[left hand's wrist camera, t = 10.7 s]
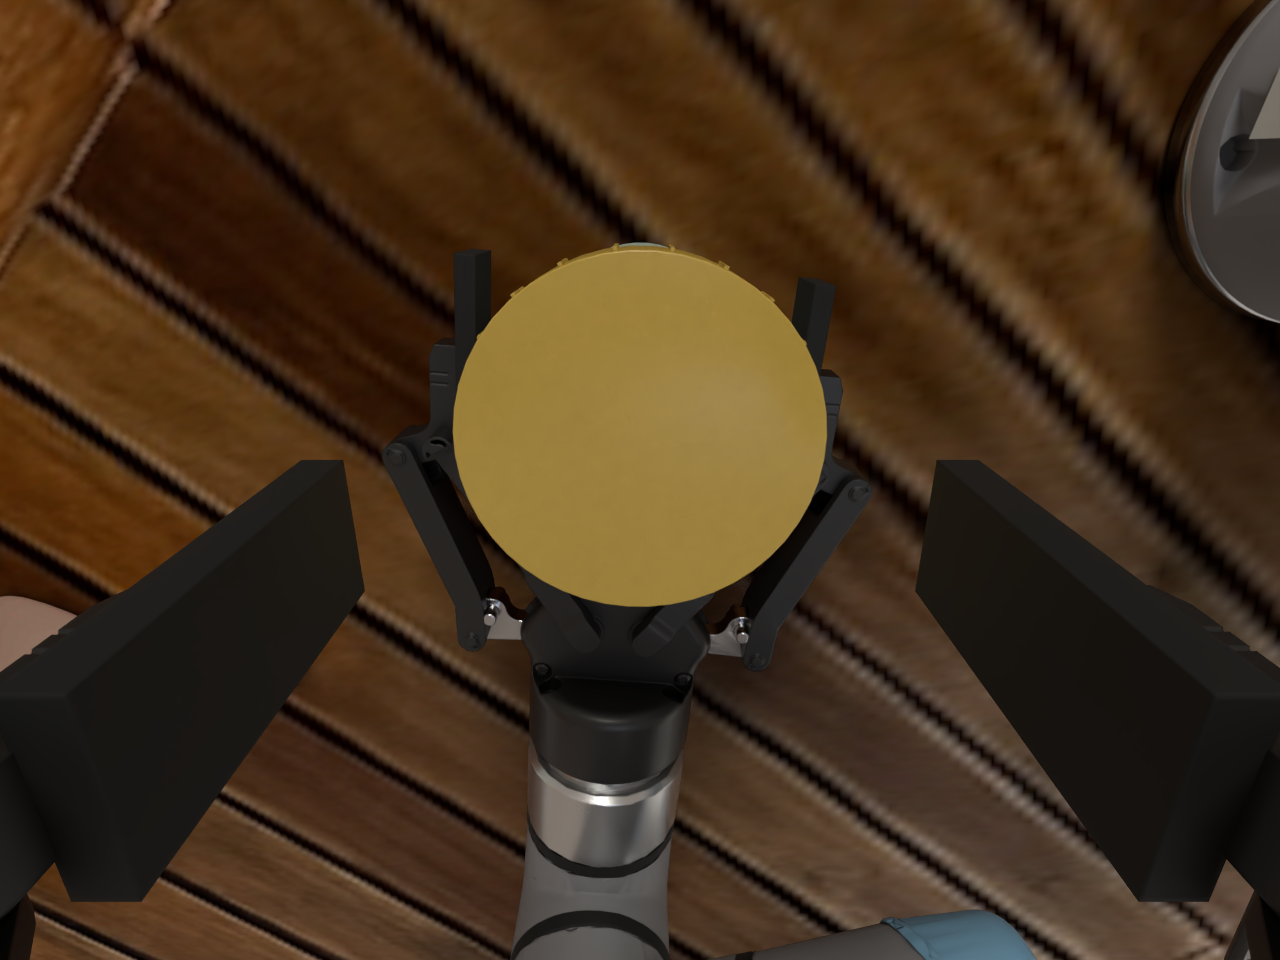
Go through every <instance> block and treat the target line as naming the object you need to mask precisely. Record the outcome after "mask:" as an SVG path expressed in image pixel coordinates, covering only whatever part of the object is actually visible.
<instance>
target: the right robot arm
mask: <svg viewBox="0 0 1280 960" xmlns="http://www.w3.org/2000/svg"><path fill="white" fill-rule="evenodd" d="M835 290H836V286H835V285H832V284H830V283H827V282H825V281H822V280H820V279H814V278H802V277H799V280H798V286H797V292H796V298H795V305H794V311H793V317H792V325H793V326H794V328H795V329H796V331H797V332H798V334H799V335H800V337H801V338H802V339H803V340H805V341H806V343H807V345H806V347H807V349H808V351H809V353H810V355H811V357H812V359H813V362H814V364H815V366H816V369H817V372H818V375H819V379H820V382H821V385H822V388H823V393H824V400H825V406H826V412H827V441H826V450H825V458H824V463H823V467H822V471H821V474H820V478H819V482H818V484H817V487H816V489H815V492H814V494H813V497H812V499H811V502H810V504H809V506H808V507H807V509H806V511H805V513H804V514H803V516H802V518H801V520H800V522H799V523H798V525H797V526H796V527H795V529H794V530H793V531H792V533H791V534H790V535H789V537H788V538H787V539H786V541H785V542H784V543H783V544H782V545H781V546H780V547H779V548H778V549H777V550H776V551H775V552H774V553H773V554H772V555H771V556H770V557H769V558H768V559H767V560H766V561H765V563H764V564H763V566H762V567H761V569H760V570H759V572H758V573H757V575H756V576H755V578H754V579H753V581H752V582H751V584H750V585H749V587H748V589H747V591H746V593H745V596H744V598H743V601H742V605H739V604H734V605H732V606H731V607H730V610H729V611H728V612H727V613H726V615H725V617H724V618H723V619H722V620H721V621H720V622H718V623H714V624H709V623H708V621H707V619H706V617H705V616H704V614H703V613H702V611H701V610H700V609H701V608H702V607H703V606H704V605H706V604H707V603H708V602H709V601H710V600H711V599H712V597H713V596H714V594H715V592H714V593H711V594H708V595H705V596H702V597H699V598H696V599H693V600H689V601H685V602H680V603H675V604H671V605H661V606H651V607H628V606H619V605H611V604H604V603H600V602H596V601H591V600H587V599H583V598H580V597H578V596H575V595H572V594H570V593H567V592H564V591H562V590H560V589H558V588H556V587H554V586H552V585H550V584H548V583H546V582H544V581H542V580H541V579H539V578H538V577H536V576H535V575H533V574H532V573H530V572H529V571H527V570H526V569H524V568H523V567H522V566H520V565H519V564H518V563H517V562H516V563H517V564H518V565H519V567H520V568H521V569H522V571H523V573H524V576H525V580H526V582H527V585H528V586H529V588H530V589H531V590H532V591H533V593H534V594H535V595H536V598H535V599H534V600H533V601H532V602H531V603H530V604H529V605H528V607H527V608H526V610H521V609H518V608H516V607H515V606H513V605H512V603H511V602H510V599H509V596H508V595H507V593H506V591H505V589H504V588H502V587H495V584H494V578H493V574H492V570H491V568H490V565H489V563H488V560H487V558H486V556H485V554H484V552H483V550H482V547H481V545H480V543H479V541H478V539H477V537H476V534H475V532H474V530H473V528H472V526H471V524H470V522H469V519H468V517H467V515H466V513H465V511H464V509H463V507H462V504H461V502H460V500H459V498H458V496H457V494H456V492H455V489H454V487H453V485H452V483H451V481H450V479H449V477H450V478H451V480H452V481H453V482H454V484H455V485H456V486H457V487H458V489H459V490H460V491H461V493H462V494H463V495H464V496H465V498H466V499H467V500H468V497H467V495H466V492H465V489H464V487H463V484H462V481H461V479H460V475H459V471H458V467H457V462H456V458H455V451H454V440H453V416H454V405H455V400H456V394H457V389H458V384H459V381H460V378H461V375H462V372H463V369H464V367H465V364H466V361H467V359H468V357H469V355H470V353H471V351H472V349H473V347H474V345H475V343H476V341H477V336H478V335H479V334H480V333H481V332H482V331H484V329H485V328H486V326H487V325H488V324H489V322H490V321H491V251H490V250H479V249H469V250H465V251H461V252H457V253H454V298H455V339H453V338H443V339H441V340H440V341H438V342H437V343H435V344H434V345H433V348H432V351H431V353H430V356H429V371H430V373H429V377H430V413H431V417H430V423H427V424H424V425H420V426H417V425H412V426H409V427H407V428H405V429H404V430H403V431H402V432H401V433H400V434H399V435H398V436H397V437H396V438H395V439H393V440H392V441H391V442H390V443H389V444H388V445H387V446H386V447H385V449H384V450H383V453H382V459H383V462H384V464H385V466H386V468H387V470H388V472H389V474H390V476H391V478H392V480H393V482H394V484H395V486H396V488H397V490H398V492H399V494H400V496H401V498H402V501H403V503H404V505H405V507H406V509H407V511H408V513H409V515H410V517H411V519H412V521H413V523H414V525H415V527H416V529H417V531H418V533H419V535H420V537H421V539H422V541H423V543H424V545H425V547H426V549H427V551H428V553H429V555H430V557H431V559H432V561H433V563H434V565H435V567H436V569H437V571H438V573H439V575H440V577H441V579H442V581H443V583H444V585H445V587H446V589H447V591H448V593H449V595H450V597H451V599H452V601H453V603H454V605H455V610H456V622H457V635H458V641H459V644H460V645H461V647H462V648H464V649H466V650H468V651H478V650H480V649H482V648H483V646H484V645H485V643H486V640H487V639H515V640H522V642H523V644H524V645H525V647H526V648H527V650H528V652H529V655H530V658H531V685H530V717H529V729H530V735H531V736H530V740H529V745H528V804H527V820H528V825H527V840H526V854H525V869H524V879H523V887H522V894H521V900H520V906H519V911H518V917H517V923H516V929H515V934H514V940H513V946H512V953H511V960H671V959H670V956H669V936H668V910H667V883H668V870H669V859H670V848H671V838H672V831H673V827H674V820H675V815H676V811H677V804H678V797H679V789H680V782H681V774H682V767H683V758H684V744H685V741H686V735H687V728H688V721H689V713H690V706H691V698H692V691H693V684H694V676H695V672H696V669H697V667H698V665H699V664H700V662H701V661H702V660H703V659H704V658H705V656H706V655H707V653H711V654H719V655H728V656H736V657H742V659H743V663H744V665H745V667H746V668H747V669H749V670H751V671H761V670H764V669H765V668H766V667H767V666H768V665H769V663H770V660H771V656H772V652H773V648H774V644H775V640H776V636H777V632H778V629H779V628H780V626H781V625H782V624H783V622H784V621H785V619H786V618H787V616H788V615H789V614H790V612H791V611H792V609H793V608H794V607H795V605H796V604H797V602H798V601H799V599H800V598H801V597H802V595H803V594H804V592H805V591H806V590H807V588H808V587H809V585H810V584H811V582H812V581H813V580H814V578H815V577H816V575H817V574H818V573H819V571H820V570H821V568H822V567H823V566H824V564H825V563H826V561H827V560H828V558H829V557H830V556H831V554H832V553H833V551H834V550H835V549H836V547H837V546H838V544H839V543H840V541H841V540H842V539H843V537H844V536H845V534H846V533H847V532H848V530H849V529H850V527H851V526H852V525H853V523H854V522H855V520H856V519H857V517H858V516H859V515H860V513H861V512H862V510H863V509H864V508H865V506H866V505H867V503H868V502H869V500H870V498H871V496H872V488H871V486H870V484H869V483H868V482H867V480H866V479H865V478H864V477H863V476H862V474H861V473H860V472H859V471H858V470H857V468H856V467H855V466H854V465H853V464H852V463H851V462H850V461H849V460H845V459H839V458H837V457H834V456H832V445H833V440H834V435H835V430H836V425H837V419H838V414H839V409H840V404H841V399H842V394H843V389H842V384H841V379H840V377H839V376H837V375H836V374H835V373H834V372H833V371H832V370H826V369H821V368H822V362H823V357H824V351H825V345H826V340H827V334H828V329H829V323H830V318H831V312H832V306H833V301H834V295H835ZM448 476H449V477H448ZM468 501H469V500H468ZM469 503H470V502H469ZM470 504H471V503H470ZM709 960H1036V958H1035V956H1034V955H1033V953H1032V952H1031V950H1030V949H1029V947H1028V945H1027V944H1026V943H1025V941H1024V940H1023V939H1022V937H1021V936H1020V935H1019V934H1018V932H1017V931H1016V930H1015V929H1014V928H1013V927H1012V926H1011V925H1010V924H1008V923H1007V922H1006V921H1005V920H1004V919H1002V918H1000V917H999V916H997V915H995V914H993V913H990V912H988V911H983V910H965V911H958V912H950V913H942V914H934V915H926V916H918V917H910V918H902V919H897V918H893V917H888V918H884V919H882V920H881V922H880V923H879V924H875V925H871V926H867V927H862V928H858V929H853V930H849V931H845V932H840V933H836V934H832V935H827V936H823V937H819V938H814V939H810V940H806V941H801V942H797V943H792V944H788V945H784V946H779V947H775V948H771V949H766V950H762V951H758V952H755V951H754V952H751V951H750V952H746V953H741V954H734V955H729V956H724V957H719V958H714V959H709Z"/></svg>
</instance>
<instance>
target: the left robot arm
mask: <svg viewBox="0 0 1280 960" xmlns="http://www.w3.org/2000/svg"><path fill="white" fill-rule="evenodd" d="M1164 200H1165V214H1166V219H1167V225H1168V230H1169V234H1170V237H1171V241H1172V244H1173V247H1174V249H1175V251H1176V254H1177V256H1178V258H1179V260H1180V262H1181V264H1182V265H1183V267H1184V269H1185V271H1186V272H1187V273H1188V275H1189V276H1190V277H1191V279H1192V280H1193V281H1194V283H1195V284H1196V285H1197V286H1198V287H1199V288H1200V289H1201V290H1202V291H1203V292H1204V293H1205V294H1207V295H1208V296H1209V297H1210V298H1212V299H1213V300H1214V301H1216V302H1217V303H1219V304H1221V305H1222V306H1224V307H1226V308H1227V309H1229V310H1232V311H1234V312H1236V313H1239V314H1241V315H1244V316H1247V317H1251V318H1254V319H1259V320H1264V321H1270V322H1275V323H1280V0H1255V1H1254V2H1253V3H1252V4H1251V5H1250V6H1249V7H1248V8H1247V9H1246V10H1245V11H1244V12H1243V14H1242V15H1241V16H1240V17H1239V18H1238V19H1237V20H1236V21H1235V22H1234V23H1233V25H1232V26H1231V27H1230V28H1229V30H1228V31H1227V32H1226V34H1225V35H1224V36H1223V37H1222V39H1221V40H1220V41H1219V42H1218V44H1217V45H1216V47H1215V48H1214V50H1213V51H1212V53H1211V54H1210V56H1209V57H1208V59H1207V60H1206V62H1205V63H1204V65H1203V67H1202V69H1201V70H1200V72H1199V74H1198V76H1197V77H1196V79H1195V81H1194V83H1193V85H1192V87H1191V89H1190V91H1189V93H1188V95H1187V97H1186V99H1185V102H1184V104H1183V107H1182V109H1181V112H1180V114H1179V117H1178V120H1177V123H1176V126H1175V129H1174V133H1173V136H1172V139H1171V143H1170V148H1169V153H1168V157H1167V164H1166V172H1165V188H1164ZM364 591H365V590H364V584H363V578H362V572H361V565H360V559H359V553H358V547H357V541H356V535H355V529H354V523H353V517H352V511H351V505H350V499H349V493H348V487H347V481H346V475H345V469H344V463H343V460H301V461H300V462H298V463H297V464H296V465H294V466H293V467H292V468H290V469H289V470H288V471H286V472H285V473H284V474H282V475H281V476H279V477H278V478H277V479H275V480H274V481H273V482H271V483H270V484H269V485H267V486H266V487H265V488H263V489H262V490H261V491H259V492H258V493H257V494H255V495H254V496H253V497H251V498H250V499H249V500H247V501H246V502H245V503H243V504H242V505H241V506H239V507H238V508H237V509H235V510H234V511H232V512H231V513H230V514H228V515H227V516H226V517H224V518H223V519H222V520H220V521H219V522H218V523H216V524H215V525H214V526H212V527H211V528H210V529H208V530H207V531H206V532H204V533H203V534H202V535H200V536H199V537H198V538H196V539H195V540H194V541H192V542H191V543H189V544H188V545H187V546H185V547H184V548H183V549H181V550H180V551H179V552H177V553H176V554H175V555H173V556H172V557H171V558H169V559H168V560H167V561H165V562H164V563H163V564H161V565H160V566H159V567H157V568H156V569H155V570H153V571H152V572H151V573H149V574H148V575H147V576H145V577H144V578H142V579H141V580H140V581H138V582H137V583H136V584H134V585H133V586H132V587H130V588H129V589H127V590H125V591H123V592H121V593H119V594H116V595H114V596H112V597H110V598H108V599H106V600H104V601H102V602H99V603H97V604H95V605H93V606H91V607H89V608H88V609H86V610H85V611H84V612H82V613H81V614H79V615H78V616H77V617H75V618H74V619H73V620H71V621H70V622H68V623H67V624H66V625H64V626H63V627H61V628H60V629H59V630H58V634H57V635H50V636H49V637H48V638H46V639H45V640H44V641H42V642H41V643H39V644H38V645H37V646H35V647H34V648H33V649H31V650H32V652H31V654H24V655H23V656H21V657H20V658H19V659H17V660H16V661H15V662H13V663H12V664H10V665H9V666H8V667H6V668H5V669H4V670H2V671H1V672H0V960H30V954H31V948H32V943H33V937H34V932H35V926H36V921H35V915H34V908H33V906H32V904H31V901H30V899H29V897H28V895H27V892H28V891H29V890H30V889H31V888H32V887H33V885H34V884H35V883H36V882H37V881H38V880H39V879H40V878H41V877H42V875H43V874H44V873H45V872H46V871H47V870H48V869H49V868H50V866H51V865H52V864H53V863H54V862H55V864H56V866H57V868H58V871H59V873H60V876H61V878H62V880H63V883H64V885H65V888H66V890H67V892H68V895H69V897H70V899H71V902H141V901H142V900H143V899H144V897H145V896H146V894H147V893H148V892H149V890H150V889H151V888H152V886H153V885H154V883H155V882H156V881H157V879H158V878H159V876H160V875H161V874H162V872H163V871H164V869H165V868H166V867H167V865H168V864H169V862H170V861H171V860H172V858H173V857H174V856H175V854H176V853H177V851H178V850H179V849H180V847H181V846H182V844H183V843H184V842H185V840H186V839H187V837H188V836H189V835H190V833H191V832H192V831H193V829H194V828H195V826H196V825H197V824H198V822H199V821H200V819H201V818H202V817H203V815H204V814H205V812H206V811H207V810H208V808H209V807H210V805H211V804H212V803H213V801H214V800H215V799H216V797H217V796H218V794H219V793H220V792H221V790H222V789H223V787H224V786H225V785H226V783H227V782H228V780H229V779H230V778H231V776H232V775H233V773H234V772H235V771H236V769H237V768H238V767H239V765H240V764H241V762H242V761H243V760H244V758H245V757H246V755H247V754H248V753H249V751H250V750H251V748H252V747H253V746H254V744H255V743H256V741H257V740H258V739H259V737H260V736H261V735H262V733H263V732H264V730H265V729H266V728H267V726H268V725H269V723H270V722H271V721H272V719H273V718H274V716H275V715H276V714H277V712H278V711H279V709H280V708H281V707H282V705H283V704H284V703H285V701H286V700H287V698H288V697H289V696H290V694H291V693H292V691H293V690H294V689H295V687H296V686H297V684H298V683H299V682H300V680H301V679H302V677H303V676H304V675H305V673H306V672H307V671H308V669H309V668H310V666H311V665H312V664H313V662H314V661H315V659H316V658H317V657H318V655H319V654H320V652H321V651H322V650H323V648H324V647H325V646H326V644H327V643H328V641H329V640H330V639H331V637H332V636H333V634H334V633H335V632H336V630H337V629H338V627H339V626H340V625H341V623H342V622H343V620H344V619H345V618H346V616H347V615H348V614H349V612H350V611H351V609H352V608H353V607H354V605H355V604H356V602H357V601H358V600H359V598H360V597H361V595H362V594H363V593H364ZM915 591H916V593H917V594H918V595H919V597H920V598H921V600H922V601H923V602H924V604H925V605H926V607H927V608H928V609H929V611H930V612H931V614H932V615H933V616H934V618H935V619H936V620H937V622H938V623H939V625H940V626H941V627H942V629H943V630H944V632H945V633H946V634H947V636H948V637H949V639H950V640H951V641H952V643H953V644H954V646H955V647H956V648H957V650H958V651H959V652H960V654H961V655H962V657H963V658H964V659H965V661H966V662H967V664H968V665H969V666H970V668H971V669H972V671H973V672H974V673H975V675H976V676H977V677H978V679H979V680H980V682H981V683H982V684H983V686H984V687H985V689H986V690H987V691H988V693H989V694H990V696H991V697H992V698H993V700H994V701H995V703H996V704H997V705H998V707H999V708H1000V709H1001V711H1002V712H1003V714H1004V715H1005V716H1006V718H1007V719H1008V721H1009V722H1010V723H1011V725H1012V726H1013V728H1014V729H1015V730H1016V732H1017V733H1018V735H1019V736H1020V737H1021V739H1022V740H1023V741H1024V743H1025V744H1026V746H1027V747H1028V748H1029V750H1030V751H1031V753H1032V754H1033V755H1034V757H1035V758H1036V760H1037V761H1038V762H1039V764H1040V765H1041V767H1042V768H1043V769H1044V771H1045V772H1046V773H1047V775H1048V776H1049V778H1050V779H1051V780H1052V782H1053V783H1054V785H1055V786H1056V787H1057V789H1058V790H1059V792H1060V793H1061V794H1062V796H1063V797H1064V799H1065V800H1066V801H1067V803H1068V804H1069V805H1070V807H1071V808H1072V810H1073V811H1074V812H1075V814H1076V815H1077V817H1078V818H1079V819H1080V821H1081V822H1082V824H1083V825H1084V826H1085V828H1086V829H1087V831H1088V832H1089V833H1090V835H1091V836H1092V837H1093V839H1094V840H1095V842H1096V843H1097V844H1098V846H1099V847H1100V849H1101V850H1102V851H1103V853H1104V854H1105V856H1106V857H1107V858H1108V860H1109V861H1110V863H1111V864H1112V865H1113V867H1114V868H1115V869H1116V871H1117V872H1118V874H1119V875H1120V876H1121V878H1122V879H1123V881H1124V882H1125V883H1126V885H1127V886H1128V888H1129V889H1130V890H1131V892H1132V893H1133V894H1134V896H1135V897H1136V899H1137V900H1138V901H1139V902H1209V899H1210V897H1211V895H1212V892H1213V890H1214V888H1215V885H1216V883H1217V880H1218V878H1219V876H1220V873H1221V871H1222V868H1223V866H1224V864H1225V861H1226V859H1227V860H1228V861H1229V862H1230V863H1231V865H1232V866H1233V867H1234V868H1235V869H1236V870H1237V871H1238V872H1239V873H1240V874H1241V876H1242V877H1243V878H1244V879H1245V880H1246V881H1247V882H1248V883H1249V884H1250V886H1251V887H1252V888H1253V889H1254V893H1253V895H1252V897H1251V899H1250V901H1249V904H1248V906H1247V908H1246V910H1245V913H1244V915H1243V917H1242V919H1241V921H1240V924H1239V926H1238V928H1237V930H1236V933H1235V935H1234V937H1233V939H1232V942H1231V944H1230V946H1229V948H1228V950H1227V953H1226V955H1225V958H1224V960H1247V959H1250V958H1251V960H1280V668H1279V667H1278V666H1276V665H1275V664H1273V663H1272V662H1271V661H1269V660H1268V659H1266V658H1265V657H1264V656H1262V655H1261V654H1259V653H1258V652H1257V651H1250V649H1249V647H1250V646H1248V645H1247V644H1246V643H1244V642H1243V641H1241V640H1240V639H1239V638H1237V637H1236V636H1234V635H1233V634H1232V633H1230V632H1224V631H1223V627H1222V626H1220V625H1219V624H1218V623H1216V622H1215V621H1214V620H1212V619H1211V618H1209V617H1208V616H1207V615H1205V614H1204V613H1202V612H1201V611H1200V610H1198V609H1197V608H1195V607H1194V606H1193V605H1191V604H1189V603H1187V602H1185V601H1183V600H1181V599H1178V598H1176V597H1174V596H1172V595H1170V594H1168V593H1166V592H1163V591H1161V590H1159V589H1157V588H1155V587H1153V586H1151V585H1146V584H1144V583H1143V582H1142V581H1140V580H1139V579H1138V578H1136V577H1135V576H1133V575H1132V574H1131V573H1129V572H1128V571H1127V570H1125V569H1124V568H1123V567H1121V566H1120V565H1119V564H1117V563H1116V562H1115V561H1113V560H1112V559H1111V558H1109V557H1108V556H1107V555H1105V554H1104V553H1103V552H1101V551H1100V550H1099V549H1097V548H1096V547H1095V546H1093V545H1092V544H1091V543H1089V542H1088V541H1086V540H1085V539H1084V538H1082V537H1081V536H1080V535H1078V534H1077V533H1076V532H1074V531H1073V530H1072V529H1070V528H1069V527H1068V526H1066V525H1065V524H1064V523H1062V522H1061V521H1060V520H1058V519H1057V518H1056V517H1054V516H1053V515H1052V514H1050V513H1049V512H1048V511H1046V510H1045V509H1043V508H1042V507H1041V506H1039V505H1038V504H1037V503H1035V502H1034V501H1033V500H1031V499H1030V498H1029V497H1027V496H1026V495H1025V494H1023V493H1022V492H1021V491H1019V490H1018V489H1017V488H1015V487H1014V486H1013V485H1011V484H1010V483H1009V482H1007V481H1006V480H1005V479H1003V478H1002V477H1001V476H999V475H998V474H996V473H995V472H994V471H992V470H991V469H990V468H988V467H987V466H986V465H984V464H983V463H982V462H980V461H979V460H937V463H936V469H935V475H934V481H933V487H932V493H931V499H930V505H929V511H928V517H927V523H926V529H925V535H924V541H923V547H922V553H921V559H920V565H919V572H918V578H917V584H916V590H915Z"/></svg>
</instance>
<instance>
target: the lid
mask: <svg viewBox="0 0 1280 960" xmlns="http://www.w3.org/2000/svg"><path fill="white" fill-rule="evenodd" d="M557 265H558V266H557V267H555V268H554V269H552V270H550V271H549V272H547V273H545V274H544V275H542V276H540V277H539V278H537V279H536V280H534V281H533V282H532V283H530V284H529V285H527V286H526V287H525V288H524V287H523V286H522V287H521V288H519V289H518V290H516V291H515V292H513V293H512V294H511V297H512V298H511V299H510V300H509V301H508V302H507V303H506V304H505V305H504V306H503V307H502V308H501V310H500V311H499V312H498V313H497V314H496V315H495V316H494V317H493V318H492V319H491V321H490V322H489V324H488V325H487V326H486V328H485V329H484V331H482V332H481V333H480V334H479V335H478V336H477V341H476V343H475V345H474V347H473V349H472V351H471V353H470V355H469V357H468V359H467V361H466V364H465V367H464V369H463V372H462V375H461V378H460V381H459V384H458V389H457V394H456V400H455V405H454V416H453V440H454V451H455V458H456V462H457V467H458V471H459V475H460V479H461V481H462V484H463V487H464V489H465V492H466V495H467V497H468V500H469V502H470V503H471V505H472V507H473V509H474V511H475V513H476V515H477V517H478V519H479V520H480V521H481V523H482V524H483V526H484V527H485V529H486V530H487V531H488V533H489V534H490V536H491V537H492V538H493V539H494V540H495V541H496V543H497V544H498V545H499V546H500V547H501V548H502V549H503V550H504V551H505V552H506V553H507V554H508V555H509V556H510V557H511V558H512V559H513V560H515V561H516V562H517V563H518V564H519V565H520V566H522V567H523V568H524V569H526V570H527V571H529V572H530V573H532V574H533V575H535V576H536V577H538V578H539V579H541V580H542V581H544V582H546V583H548V584H550V585H552V586H554V587H556V588H558V589H560V590H562V591H564V592H567V593H570V594H572V595H575V596H578V597H580V598H583V599H587V600H591V601H596V602H600V603H604V604H611V605H619V606H628V607H651V606H661V605H671V604H675V603H680V602H685V601H689V600H693V599H696V598H699V597H702V596H705V595H708V594H711V593H714V592H716V591H718V590H720V589H722V588H724V587H726V586H728V585H730V584H733V583H734V582H736V581H738V580H739V579H741V578H742V577H744V576H745V575H747V574H749V573H750V572H752V571H753V570H754V569H756V568H757V567H758V566H759V565H761V564H762V563H763V562H764V561H765V560H767V559H768V558H769V557H770V556H771V555H772V554H773V553H774V552H775V551H776V550H777V549H778V548H779V547H780V546H781V545H782V544H783V543H784V542H785V541H786V539H787V538H788V537H789V535H790V534H791V533H792V531H793V530H794V529H795V527H796V526H797V525H798V523H799V522H800V520H801V518H802V516H803V514H804V513H805V511H806V509H807V507H808V506H809V504H810V502H811V499H812V497H813V494H814V492H815V489H816V487H817V484H818V482H819V478H820V474H821V471H822V467H823V463H824V458H825V450H826V441H827V412H826V406H825V400H824V393H823V388H822V385H821V382H820V379H819V375H818V372H817V369H816V366H815V364H814V362H813V359H812V357H811V355H810V353H809V351H808V349H807V347H806V345H807V343H806V341H805V340H803V339H802V338H801V337H800V335H799V334H798V332H797V331H796V329H795V328H794V326H793V325H792V323H791V322H790V321H789V320H788V319H787V317H786V316H785V315H784V314H783V313H782V312H781V311H780V309H779V308H778V307H777V306H776V305H775V304H774V303H773V302H774V301H775V300H774V299H773V298H772V297H771V296H769V295H768V294H766V293H765V292H763V291H761V292H760V291H759V290H758V289H757V288H755V287H754V286H753V285H751V284H750V283H748V282H747V281H745V280H744V279H742V278H741V277H739V276H738V275H736V274H735V273H733V272H731V271H730V270H728V269H729V266H728V265H726V264H725V263H723V262H721V261H719V262H718V264H717V263H715V262H713V261H711V260H708V259H706V258H704V257H702V256H699V255H695V254H692V253H689V252H685V251H682V250H678V249H675V247H674V246H673V245H670V244H668V248H665V247H659V246H622V247H619V243H617V244H614V246H613V248H606V249H603V250H599V251H595V252H591V253H588V254H584V255H581V256H579V257H576V258H574V259H572V260H569V261H568V259H567V258H565V259H563V260H562V261H560V262H559V263H557Z"/></svg>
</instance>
